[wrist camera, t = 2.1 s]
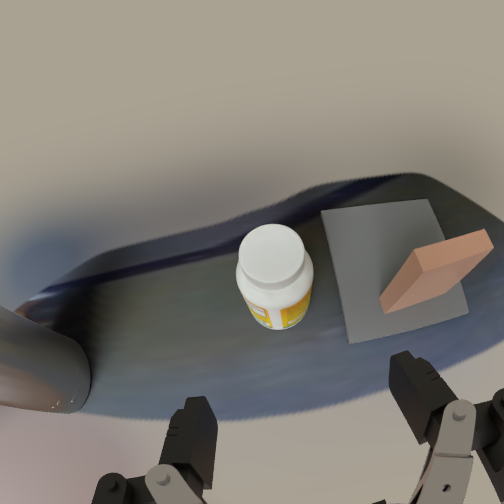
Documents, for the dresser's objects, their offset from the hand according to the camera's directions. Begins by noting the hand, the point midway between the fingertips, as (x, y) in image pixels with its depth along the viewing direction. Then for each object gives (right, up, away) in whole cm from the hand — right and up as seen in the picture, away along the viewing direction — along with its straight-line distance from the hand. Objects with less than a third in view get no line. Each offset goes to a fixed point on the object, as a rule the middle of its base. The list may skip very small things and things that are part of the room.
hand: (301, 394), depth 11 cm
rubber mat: (+12, +5, +15) cm, 19 cm away
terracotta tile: (+13, +2, +12) cm, 18 cm away
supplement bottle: (+1, +1, +15) cm, 15 cm away
